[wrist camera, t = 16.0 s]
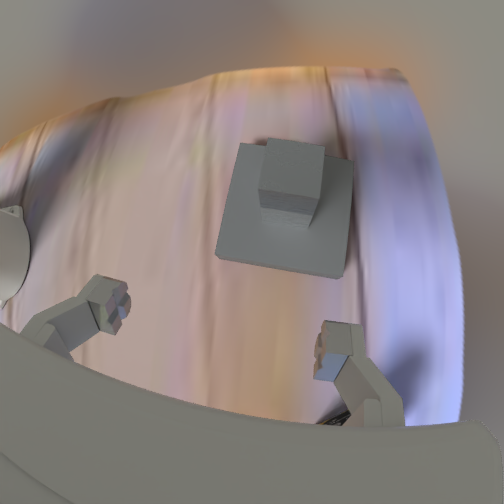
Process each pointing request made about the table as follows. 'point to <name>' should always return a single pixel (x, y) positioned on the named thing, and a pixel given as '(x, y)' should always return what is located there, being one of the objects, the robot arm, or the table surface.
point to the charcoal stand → (284, 236)
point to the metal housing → (290, 182)
